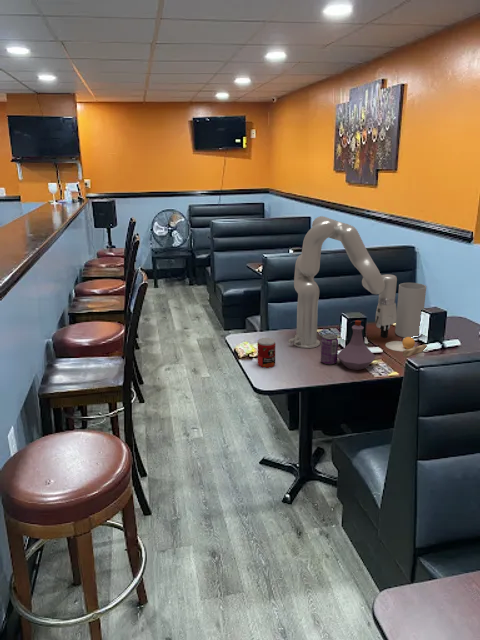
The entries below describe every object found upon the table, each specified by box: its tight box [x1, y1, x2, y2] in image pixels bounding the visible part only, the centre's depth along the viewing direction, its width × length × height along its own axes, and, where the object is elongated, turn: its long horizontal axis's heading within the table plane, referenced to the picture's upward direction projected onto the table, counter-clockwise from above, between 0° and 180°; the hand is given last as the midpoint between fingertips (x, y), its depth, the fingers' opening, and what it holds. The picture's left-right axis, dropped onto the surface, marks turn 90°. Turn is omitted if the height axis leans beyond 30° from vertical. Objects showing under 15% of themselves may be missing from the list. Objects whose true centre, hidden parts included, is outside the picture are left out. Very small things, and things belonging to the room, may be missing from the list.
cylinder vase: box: [394, 282, 427, 339], centre depth 245 cm, size 12×12×25 cm
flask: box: [337, 319, 376, 371], centre depth 210 cm, size 16×16×20 cm
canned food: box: [257, 337, 276, 369], centre depth 214 cm, size 8×8×11 cm
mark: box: [385, 340, 415, 353], centre depth 234 cm, size 13×13×1 cm
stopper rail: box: [402, 343, 428, 358], centre depth 225 cm, size 14×2×2 cm, turn 121°
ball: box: [402, 337, 416, 349], centre depth 230 cm, size 6×6×6 cm
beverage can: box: [320, 333, 339, 365], centre depth 215 cm, size 7×7×12 cm
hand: (384, 337), depth 241 cm, fingers closed
